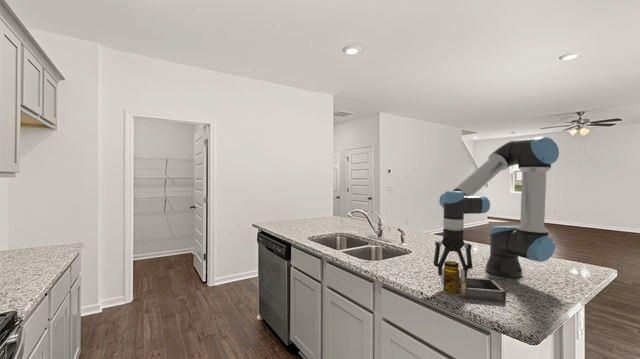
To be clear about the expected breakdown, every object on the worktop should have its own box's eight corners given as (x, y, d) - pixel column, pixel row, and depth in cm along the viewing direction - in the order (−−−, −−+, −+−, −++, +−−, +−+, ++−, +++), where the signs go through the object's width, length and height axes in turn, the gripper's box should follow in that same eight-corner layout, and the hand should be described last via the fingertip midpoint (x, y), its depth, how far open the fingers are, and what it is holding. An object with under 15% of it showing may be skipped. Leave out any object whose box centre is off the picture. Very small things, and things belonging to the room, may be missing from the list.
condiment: (439, 292, 117) (440, 262, 117) (445, 285, 124) (445, 258, 123) (459, 296, 112) (460, 266, 112) (463, 289, 119) (464, 261, 119)
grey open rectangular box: (491, 288, 121) (492, 274, 121) (506, 302, 107) (506, 287, 107) (452, 285, 124) (452, 271, 124) (461, 298, 111) (461, 283, 110)
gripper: (476, 228, 119) (475, 282, 119) (426, 225, 123) (425, 278, 123) (483, 231, 111) (481, 289, 112) (428, 229, 116) (428, 285, 116)
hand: (452, 284), depth 118 cm, fingers open, 7 cm apart
